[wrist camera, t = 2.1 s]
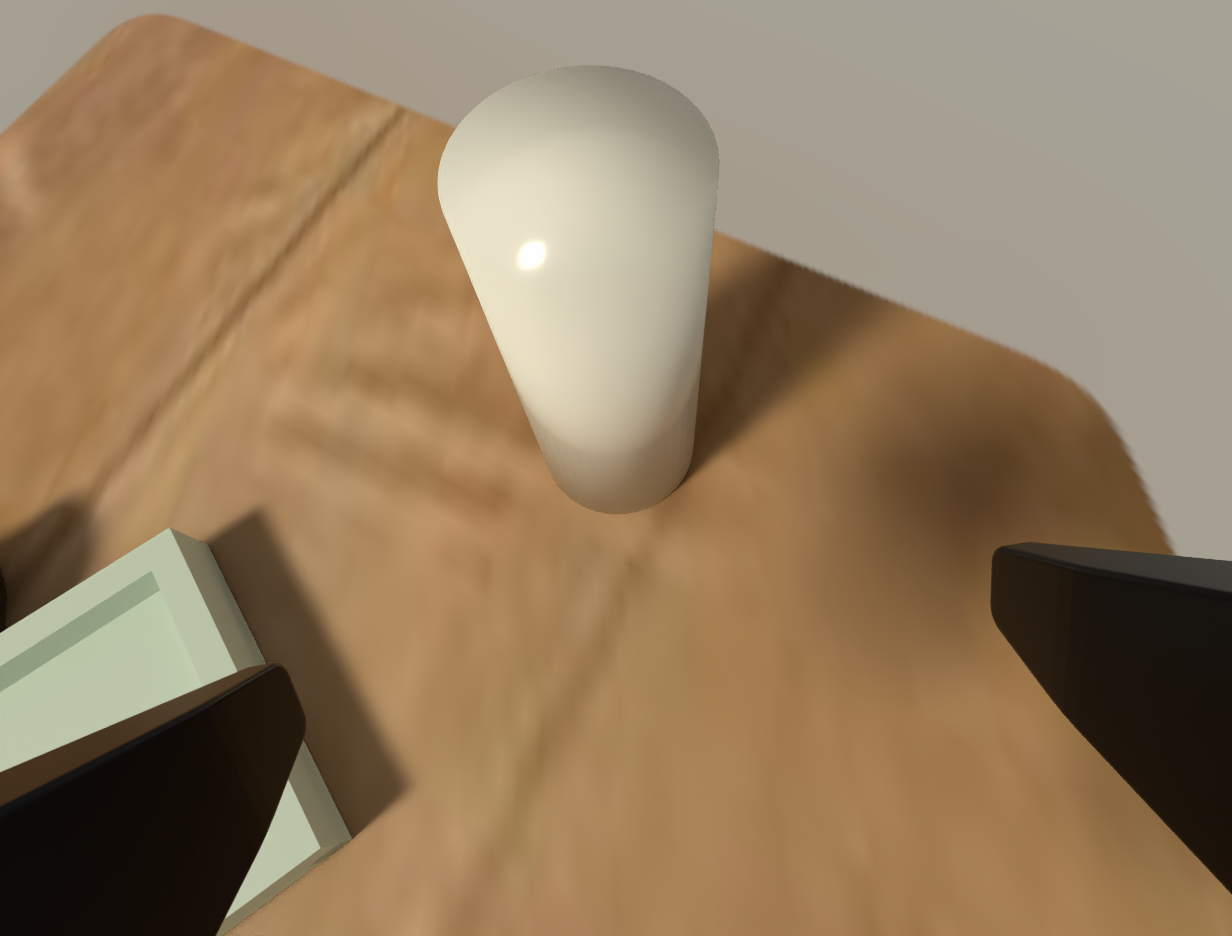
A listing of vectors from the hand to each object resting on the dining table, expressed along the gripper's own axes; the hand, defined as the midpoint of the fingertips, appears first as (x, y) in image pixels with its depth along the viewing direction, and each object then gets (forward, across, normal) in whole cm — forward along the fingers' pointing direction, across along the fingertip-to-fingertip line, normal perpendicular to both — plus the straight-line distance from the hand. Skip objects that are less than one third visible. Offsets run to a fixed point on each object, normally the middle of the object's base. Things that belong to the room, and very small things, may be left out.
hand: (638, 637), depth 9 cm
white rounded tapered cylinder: (+16, 0, -3) cm, 16 cm away
